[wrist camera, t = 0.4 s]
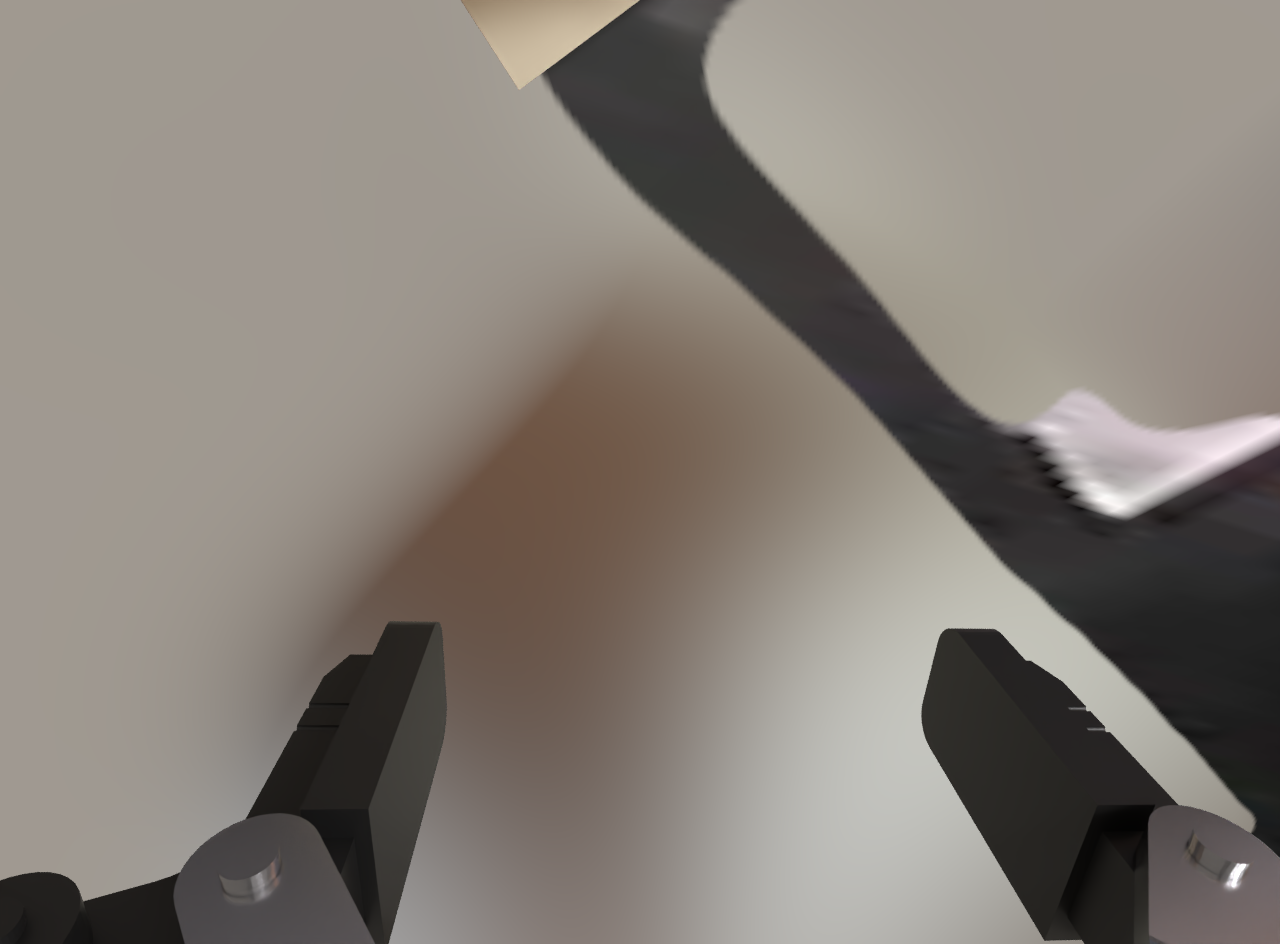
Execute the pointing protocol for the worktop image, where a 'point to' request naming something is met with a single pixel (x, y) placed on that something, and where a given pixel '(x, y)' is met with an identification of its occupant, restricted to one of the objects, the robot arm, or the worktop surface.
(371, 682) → the robot arm
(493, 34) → the birch board
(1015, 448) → the worktop surface
